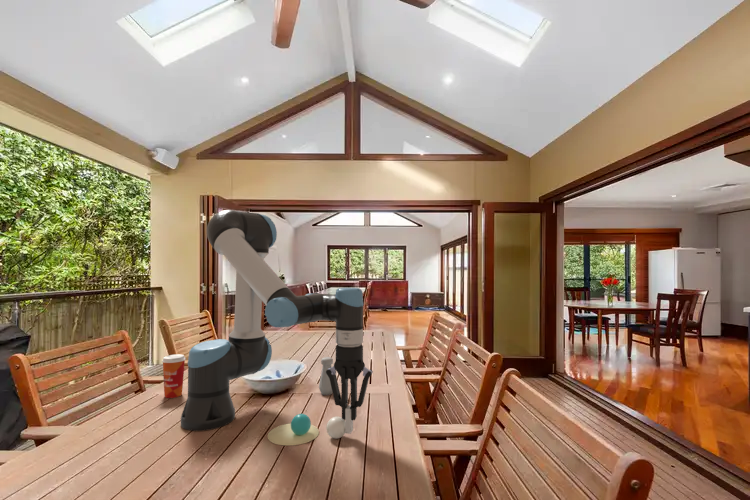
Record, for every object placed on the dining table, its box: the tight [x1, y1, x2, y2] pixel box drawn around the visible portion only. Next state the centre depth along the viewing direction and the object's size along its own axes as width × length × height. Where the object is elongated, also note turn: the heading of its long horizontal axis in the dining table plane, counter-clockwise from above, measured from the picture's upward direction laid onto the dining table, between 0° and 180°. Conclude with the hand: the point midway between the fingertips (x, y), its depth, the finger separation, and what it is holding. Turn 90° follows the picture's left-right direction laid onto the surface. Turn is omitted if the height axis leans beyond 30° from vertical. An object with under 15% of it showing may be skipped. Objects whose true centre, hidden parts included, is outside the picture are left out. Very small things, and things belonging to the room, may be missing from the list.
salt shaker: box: [318, 356, 334, 396], centre depth 142 cm, size 6×6×13 cm
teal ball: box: [290, 413, 312, 435], centre depth 108 cm, size 6×6×6 cm
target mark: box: [267, 422, 320, 447], centre depth 108 cm, size 14×14×1 cm
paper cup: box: [161, 353, 186, 399], centre depth 139 cm, size 8×8×14 cm
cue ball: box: [326, 416, 346, 439], centre depth 106 cm, size 6×6×6 cm
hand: (349, 431), depth 105 cm, fingers closed
